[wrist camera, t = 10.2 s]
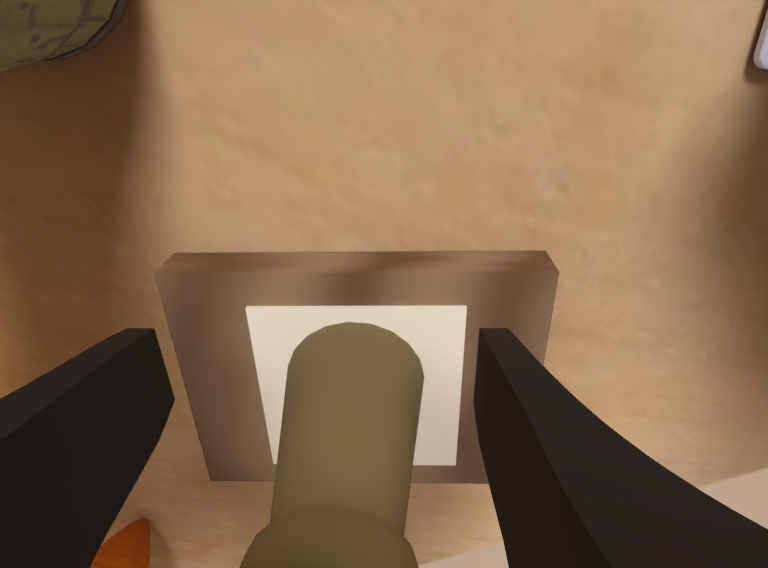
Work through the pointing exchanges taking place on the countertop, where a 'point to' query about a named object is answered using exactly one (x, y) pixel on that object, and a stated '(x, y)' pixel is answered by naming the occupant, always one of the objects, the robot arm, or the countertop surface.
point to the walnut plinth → (338, 305)
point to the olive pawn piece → (344, 453)
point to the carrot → (126, 548)
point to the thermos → (53, 28)
